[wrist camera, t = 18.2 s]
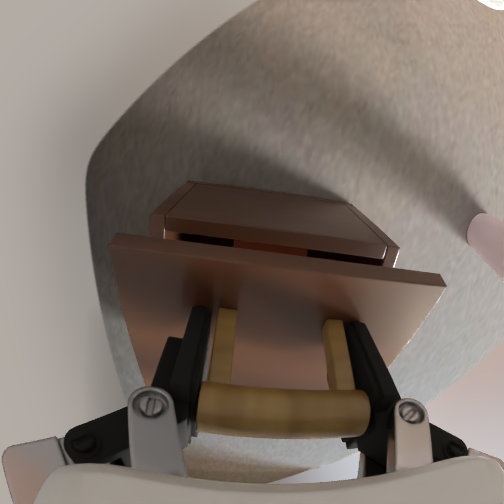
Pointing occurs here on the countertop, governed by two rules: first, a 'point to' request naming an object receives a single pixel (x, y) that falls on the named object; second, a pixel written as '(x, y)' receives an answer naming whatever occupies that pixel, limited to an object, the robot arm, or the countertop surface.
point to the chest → (272, 222)
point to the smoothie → (488, 240)
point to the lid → (268, 329)
